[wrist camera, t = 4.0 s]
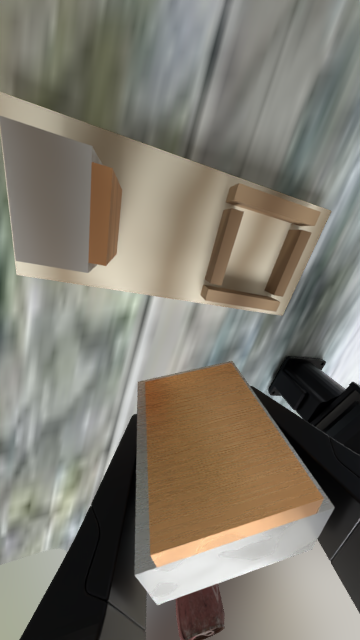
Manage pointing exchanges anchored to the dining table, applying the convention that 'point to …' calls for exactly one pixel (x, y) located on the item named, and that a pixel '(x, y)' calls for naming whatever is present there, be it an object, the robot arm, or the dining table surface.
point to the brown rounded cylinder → (200, 614)
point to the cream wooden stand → (146, 217)
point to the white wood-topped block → (215, 484)
